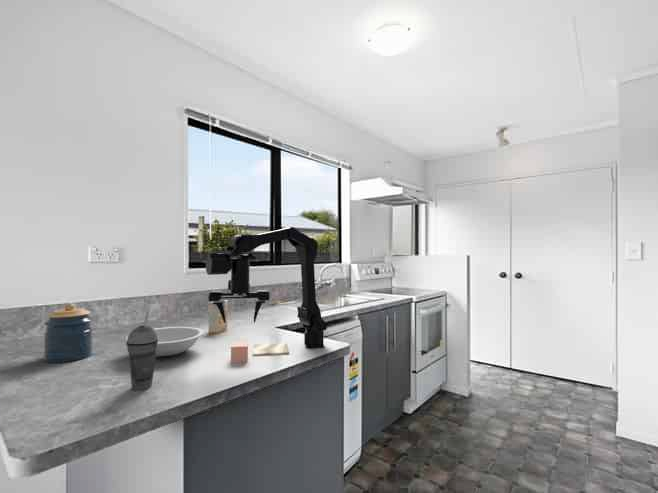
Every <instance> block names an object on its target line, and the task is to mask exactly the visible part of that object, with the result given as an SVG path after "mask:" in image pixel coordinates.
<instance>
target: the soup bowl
mask: <svg viewBox="0 0 658 493" xmlns="http://www.w3.org/2000/svg"><path fill="white" fill-rule="evenodd" d="M153 329H154V330H155V332H156V334H157V338H158V342H157V348H156V352H155V357H171V356H174V355H178V354H181V353H184V352H186V351H188V350H189V349H191V348H192V347H193V346H194V345H195V344H196V343H197V341H198V340H199V338H200V337H203V335H204V334H205V332H204V330H203V329H201V328H197V327H191V326H189V327H188V326H170V327H167V326H166V327H159V328H157V327H156V328H153ZM128 336H129V335H127V336H126V337H125V342H126V343H127V338H128Z"/></svg>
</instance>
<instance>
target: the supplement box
mask: <svg viewBox="0 0 658 493" xmlns="http://www.w3.org/2000/svg"><path fill="white" fill-rule="evenodd" d="M224 300H225V313H226V323H224V321H223V318H222V316H221V313H220V311H219V309H218V307H217V305H216V304H213V302H214V301H208V333H210V334H220V333H222V332H224V331H226V330H228V306H229V303H228V302H229V301H228V299H224Z"/></svg>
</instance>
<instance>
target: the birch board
mask: <svg viewBox="0 0 658 493" xmlns="http://www.w3.org/2000/svg"><path fill="white" fill-rule="evenodd" d="M252 350H253V351H252V356H253V357H254V356H255V357H256V356H273V355H274V356H276V355H280V356H281V355H289V354H290V350H289V348H288V342H285V343H262V344H260V343H257V344H253V349H252Z"/></svg>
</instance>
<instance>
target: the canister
mask: <svg viewBox="0 0 658 493" xmlns="http://www.w3.org/2000/svg"><path fill="white" fill-rule="evenodd" d="M90 313H91V311H89V310H87V309H86V308H84V307H75V305H74V303H72V302H68V303H66V304H65V305H64V307H63V308H61V309H55V310H53V311H52V312H50V313H49V314H47V315H46V316H47V318H48V319H47V320H45V321H44V322H43V325H44V326H45V331H44V332H43V335H44V337H43V354H42V357H43V360H44V362H45V363H46V362H47V363H68V362H72V361H77V360H78V361H79V360H82V359H85V358H88V357H90V356H91V355H92V352H93V330H94V328H93V327H92V322H93V321H94V318H93V317H92V316H90Z"/></svg>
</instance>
